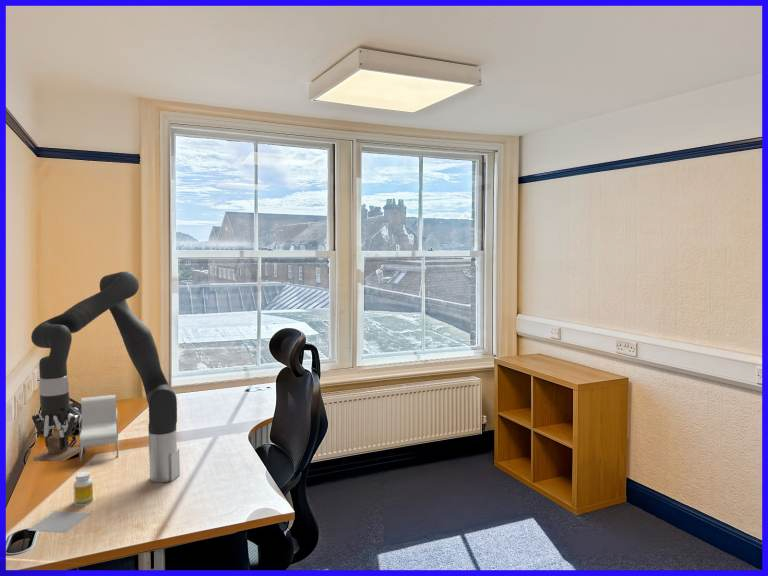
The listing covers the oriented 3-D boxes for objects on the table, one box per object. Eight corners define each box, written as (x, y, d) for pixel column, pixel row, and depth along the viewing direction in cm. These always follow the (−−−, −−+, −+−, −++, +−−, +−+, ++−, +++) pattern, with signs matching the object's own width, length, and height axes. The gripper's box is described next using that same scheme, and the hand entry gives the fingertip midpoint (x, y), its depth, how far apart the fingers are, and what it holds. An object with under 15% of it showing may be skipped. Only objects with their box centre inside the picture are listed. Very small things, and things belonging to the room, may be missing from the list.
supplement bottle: (71, 503, 188) (70, 474, 187) (89, 497, 192) (88, 469, 191) (78, 508, 184) (76, 479, 184) (95, 502, 188) (94, 474, 188)
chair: (118, 438, 249) (116, 393, 247) (118, 458, 226) (116, 409, 224) (82, 442, 243) (81, 396, 242) (79, 464, 221) (77, 413, 219)
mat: (91, 514, 181) (91, 513, 181) (66, 533, 169) (65, 532, 169) (54, 512, 182) (54, 511, 182) (27, 531, 170) (27, 530, 170)
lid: (81, 450, 178) (80, 431, 177) (62, 461, 169) (61, 441, 168) (54, 449, 179) (53, 430, 178) (33, 460, 170) (32, 440, 169)
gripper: (84, 388, 175) (87, 444, 176) (40, 387, 176) (43, 443, 178) (68, 395, 167) (71, 453, 169) (22, 394, 169) (26, 452, 170)
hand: (57, 447), depth 173 cm, fingers closed on lid, 3 cm apart
